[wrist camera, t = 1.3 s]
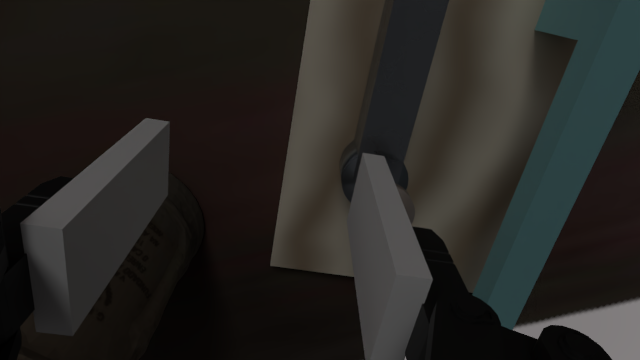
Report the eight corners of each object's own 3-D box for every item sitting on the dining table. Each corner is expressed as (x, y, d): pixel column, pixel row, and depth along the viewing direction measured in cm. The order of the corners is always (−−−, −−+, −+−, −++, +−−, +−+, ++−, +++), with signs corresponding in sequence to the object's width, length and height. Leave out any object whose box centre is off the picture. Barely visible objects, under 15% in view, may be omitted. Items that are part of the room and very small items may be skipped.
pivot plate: (271, 254, 36) (258, 337, 28) (322, -80, 26) (326, -107, 18) (493, 285, 38) (543, 371, 30) (625, -18, 28) (761, -15, 19)
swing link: (391, 195, 32) (399, 215, 29) (334, 186, 31) (336, 206, 29) (451, -19, 26) (467, -18, 23) (380, -32, 25) (388, -34, 23)
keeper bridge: (425, 301, 39) (453, 380, 31) (538, -13, 28) (624, -9, 20) (451, 304, 39) (485, 384, 31) (574, -6, 28) (672, 1, 20)
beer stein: (98, 125, 31) (-200, 354, 14) (230, 191, 34) (121, 457, 16) (48, 263, 38) (-197, 538, 20) (162, 311, 40) (31, 592, 23)
